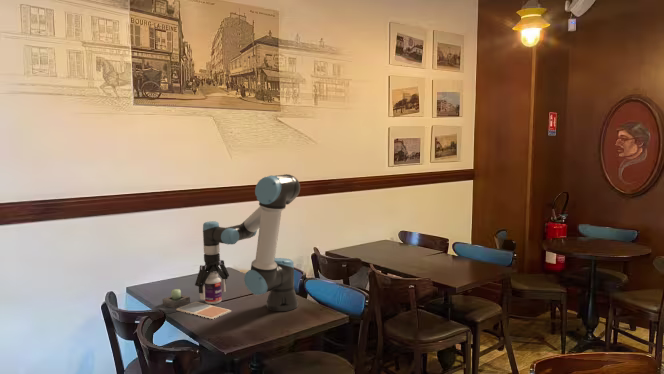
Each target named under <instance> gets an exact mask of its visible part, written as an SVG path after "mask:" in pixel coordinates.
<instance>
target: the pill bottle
mask: <svg viewBox="0 0 664 374" xmlns="http://www.w3.org/2000/svg"><path fill="white" fill-rule="evenodd" d="M221 279H222V278H221V277H220V276H219V274H218V273H217V272H216V271H215V272H212V273H210V274H209V276H208V278H207V280H206V282H205V284H204V285H203V286H205V300H204V302H205V304H208V305H216V304H217V305H218V304H219V303H221V302H222V300H223V297H222V293H223V292H221Z"/></svg>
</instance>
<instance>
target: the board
mask: <svg viewBox="0 0 664 374" xmlns="http://www.w3.org/2000/svg"><path fill="white" fill-rule="evenodd" d="M175 311H179V312H182V313H185V312H186V314H189V313H190V314H189V315H192V314H194V315H193V316H196V315H198V317H200V316H201V318H204V317H205V318H204V319H207V318H209V319H208V320H211V319H213V320H215V319H217V318H219V316H220V317H222V316H224V315H227V314H229V313H231V312H232V310H231V309H228V308H223V307H220V306H215V305H213V304H207V303H203V302H199V301H194V302H190V303H188V304H185V305H183V306H180V307H177V308H175ZM214 318H215V319H214Z"/></svg>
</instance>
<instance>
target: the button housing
mask: <svg viewBox="0 0 664 374" xmlns="http://www.w3.org/2000/svg"><path fill="white" fill-rule="evenodd" d="M188 304H191V297H190V296H189V295H183V294H181V299H178V300H172V297H171V295H170V296H167V297H165V298H162V305H163V306H165V307H169V308H173V309H177V308H180V307H183V306H185V305H188Z"/></svg>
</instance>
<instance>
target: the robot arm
mask: <svg viewBox="0 0 664 374" xmlns="http://www.w3.org/2000/svg"><path fill="white" fill-rule="evenodd" d="M300 191H301V184H300V181H299V179H298V178H297V177H296V176H294V175H291V174H285V173H284V174H279V175H268V176H264V177H262V178H261V179H259V180H258V182H257V183H256V185H255V189H254V194H255V197H256V200H257V201H258V205H259V207H258V208H257V209H255V210H254V211H253V212H252V213H251V214H250V215H249V216H248V217H247V218H246V219H245V220H244V221H243V222H242V223H240V224H237V225H231V226H228V227H223V226H220V225H219V224H220V223H219V222H218V221H216V220H215V221H214V220H213V221H211V220H210V221H205V222H203V224H202V236H203V237H202V238H203V241H202V243H203V253H204V254H203V262H204V265H203V264H202V265H201V264H200V265H199V270H198V274H197V277H196V280H195V283H194V286H195V287H198V293H199V300H203V301H205V286H204V284H205V282H206V280H207V278H208V276H209V274H210V273H212V272H216V273H218V276H219V278H220V279H221V292H222V293H226V286H227V280H228V279H229V276H230V274H229V271H228V269H227V267H226V265H225V260H223V259H221V256H220V255H221V254H220V253H221V252H220V244H223V245H224V244H225V245H236V244H237V242H239V241H243V240H247V239H251V238H253V237H255V236H256V234H257V231H258V229H259V231H258V235H257V237H258V238H257V246H256V253H255V259H253V260H252V261H251V265H250V269H249V270H247V272H245V274H244V278H243V279H244V281H243V282H244V284H245V287H246V288H247V290H248V292H249V293H251V294H253V295H257V296H259V295H264V294H266V293H268V292H269V294H268V297H267V300H266V308H267V309H268V310H269V311H273V312H288V311H292V310H296V308H298V307H299V300H298V297H297V294H296V291H295V265H294V261H293V260H292V259H290V258H285V257H276V253H277V247H278V246H277V245H278V237H279V232H280V224H281V217H282V211H284V210H285V209H286V206H287V205H290V204H291V203H292V202H293V201H294V200H295V199H296V198H297V197H298V196H299V194H300Z"/></svg>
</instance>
